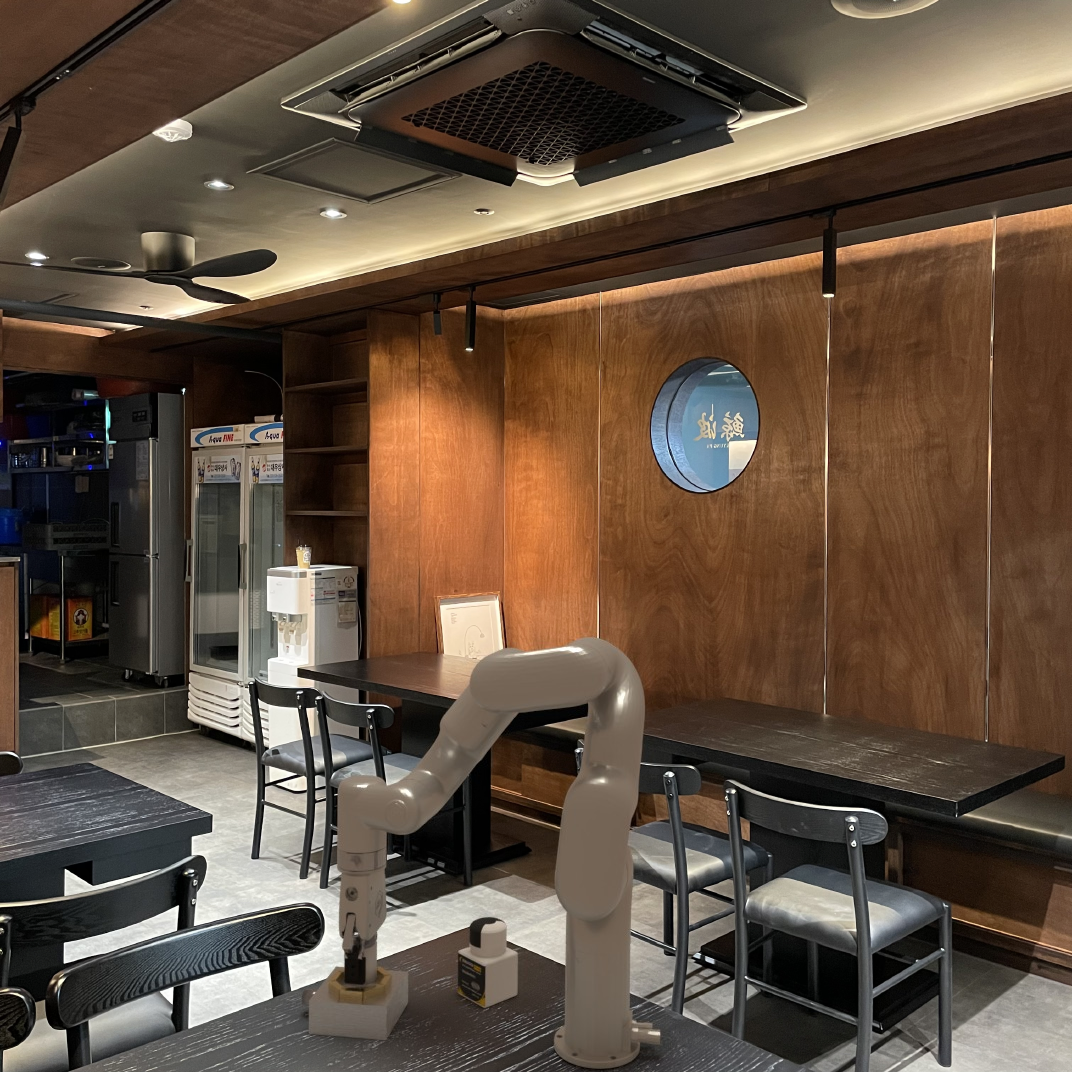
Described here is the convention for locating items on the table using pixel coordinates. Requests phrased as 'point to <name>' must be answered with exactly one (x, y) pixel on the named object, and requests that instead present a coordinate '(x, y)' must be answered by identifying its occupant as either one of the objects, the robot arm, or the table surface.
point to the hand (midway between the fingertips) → (360, 973)
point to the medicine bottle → (487, 964)
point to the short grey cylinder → (369, 959)
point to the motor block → (357, 1005)
